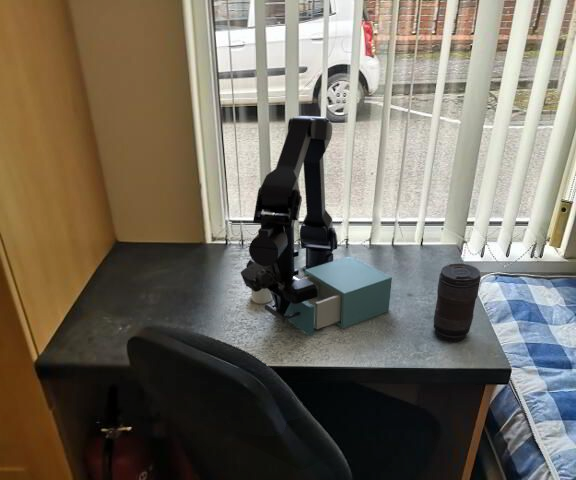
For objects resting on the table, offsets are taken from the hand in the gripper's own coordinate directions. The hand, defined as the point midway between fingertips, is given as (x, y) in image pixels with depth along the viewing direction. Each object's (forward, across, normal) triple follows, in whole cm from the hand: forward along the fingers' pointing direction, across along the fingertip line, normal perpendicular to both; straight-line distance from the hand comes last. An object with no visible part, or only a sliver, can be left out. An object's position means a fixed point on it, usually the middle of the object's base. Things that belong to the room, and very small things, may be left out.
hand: (281, 314), depth 124 cm
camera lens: (+4, +23, +28) cm, 37 cm away
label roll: (+4, -15, +4) cm, 16 cm away
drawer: (+3, 0, +6) cm, 7 cm away
